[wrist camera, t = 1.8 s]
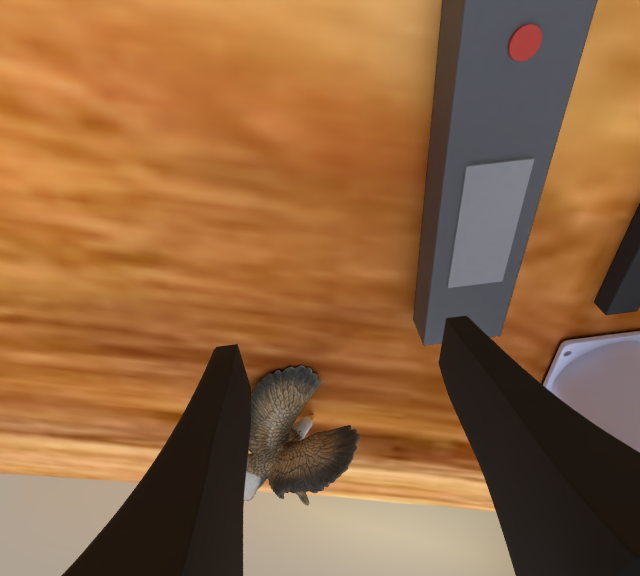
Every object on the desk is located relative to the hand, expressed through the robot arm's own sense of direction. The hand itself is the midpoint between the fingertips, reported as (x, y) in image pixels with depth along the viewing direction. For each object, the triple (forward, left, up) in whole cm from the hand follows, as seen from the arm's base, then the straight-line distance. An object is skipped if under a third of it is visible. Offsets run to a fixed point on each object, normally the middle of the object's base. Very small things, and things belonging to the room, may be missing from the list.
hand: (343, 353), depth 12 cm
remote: (0, -8, -9) cm, 12 cm away
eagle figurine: (-16, +3, -10) cm, 19 cm away
